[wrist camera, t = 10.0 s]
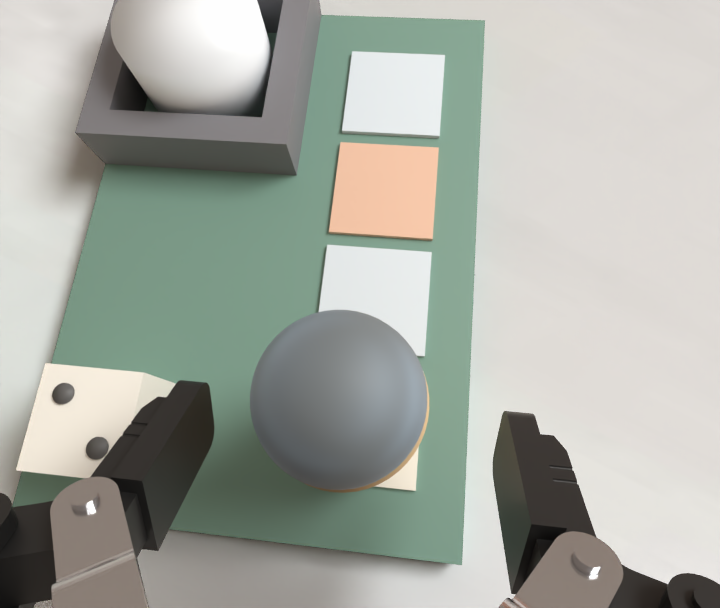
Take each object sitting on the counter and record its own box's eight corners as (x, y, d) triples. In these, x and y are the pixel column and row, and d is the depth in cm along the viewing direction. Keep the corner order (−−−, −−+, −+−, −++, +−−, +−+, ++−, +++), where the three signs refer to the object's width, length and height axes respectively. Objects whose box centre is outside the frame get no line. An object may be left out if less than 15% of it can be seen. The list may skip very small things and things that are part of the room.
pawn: (303, 472, 19) (202, 488, 9) (316, 366, 20) (240, 273, 10) (410, 484, 19) (432, 515, 9) (418, 375, 20) (446, 289, 10)
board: (29, 507, 21) (-70, 520, 16) (156, 25, 27) (110, -59, 23) (458, 559, 19) (478, 590, 15) (481, 36, 26) (499, -50, 21)
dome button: (142, 135, 24) (94, 73, 20) (168, 31, 26) (129, -44, 22) (268, 142, 23) (244, 80, 20) (286, 35, 25) (268, -41, 21)
